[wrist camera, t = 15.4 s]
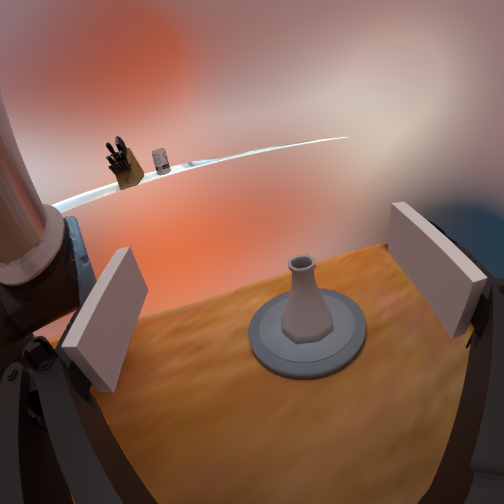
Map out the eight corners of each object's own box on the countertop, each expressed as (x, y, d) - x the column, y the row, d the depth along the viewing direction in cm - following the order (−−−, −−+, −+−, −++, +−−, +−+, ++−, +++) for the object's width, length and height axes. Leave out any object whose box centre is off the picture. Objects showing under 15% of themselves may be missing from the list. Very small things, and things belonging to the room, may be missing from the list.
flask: (343, 332, 34) (344, 268, 30) (290, 351, 34) (281, 288, 29) (320, 300, 41) (316, 240, 36) (273, 315, 40) (262, 255, 35)
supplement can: (157, 174, 163) (151, 151, 156) (170, 170, 165) (164, 147, 157) (157, 176, 156) (151, 152, 149) (171, 172, 158) (164, 148, 150)
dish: (252, 388, 32) (249, 380, 31) (249, 304, 46) (247, 296, 45) (380, 363, 31) (382, 355, 30) (346, 287, 45) (347, 279, 44)
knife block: (115, 195, 140) (99, 142, 124) (129, 180, 170) (116, 136, 155) (134, 189, 140) (118, 135, 125) (145, 175, 171) (132, 130, 156)
